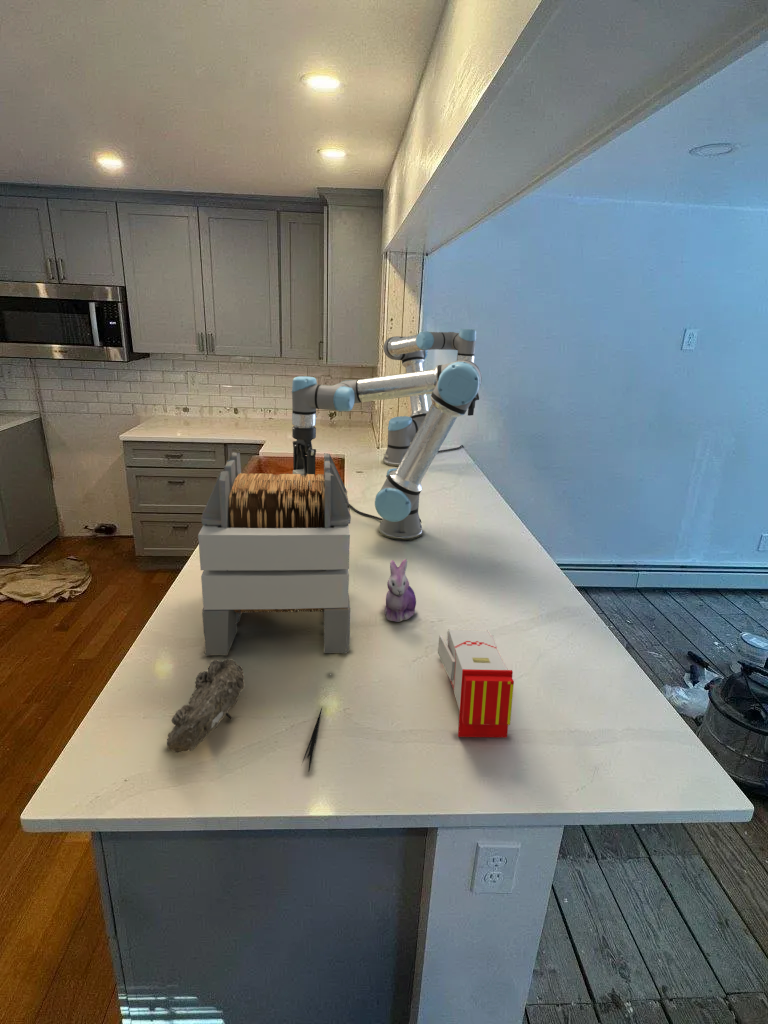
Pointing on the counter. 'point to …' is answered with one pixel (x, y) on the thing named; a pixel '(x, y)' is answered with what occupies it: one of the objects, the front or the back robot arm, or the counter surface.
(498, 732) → the toy
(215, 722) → the fossil
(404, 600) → the figurine
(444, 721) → the counter surface
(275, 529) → the record crate
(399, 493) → the front robot arm
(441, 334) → the back robot arm
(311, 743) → the feather
